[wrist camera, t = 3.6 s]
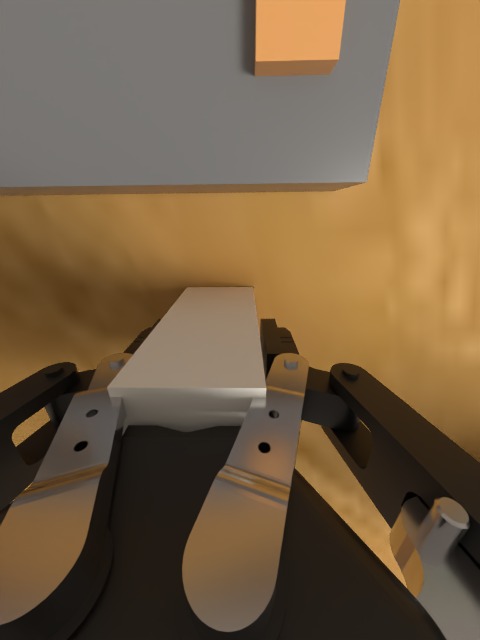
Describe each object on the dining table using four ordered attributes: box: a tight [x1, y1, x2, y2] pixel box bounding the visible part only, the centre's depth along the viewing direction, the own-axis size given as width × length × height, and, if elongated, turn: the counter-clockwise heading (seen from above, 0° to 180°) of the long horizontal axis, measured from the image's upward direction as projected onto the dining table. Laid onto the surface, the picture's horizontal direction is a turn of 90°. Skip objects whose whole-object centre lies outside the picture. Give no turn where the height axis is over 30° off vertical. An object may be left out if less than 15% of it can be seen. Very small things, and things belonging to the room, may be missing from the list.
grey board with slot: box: [0, 0, 400, 195], centre depth 8 cm, size 22×10×4 cm, turn 91°
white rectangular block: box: [107, 287, 266, 436], centre depth 11 cm, size 4×4×9 cm
